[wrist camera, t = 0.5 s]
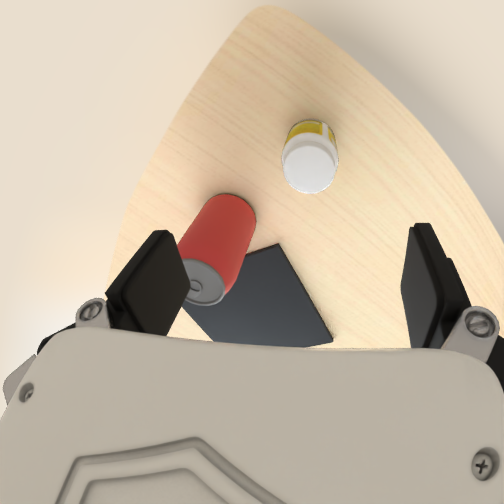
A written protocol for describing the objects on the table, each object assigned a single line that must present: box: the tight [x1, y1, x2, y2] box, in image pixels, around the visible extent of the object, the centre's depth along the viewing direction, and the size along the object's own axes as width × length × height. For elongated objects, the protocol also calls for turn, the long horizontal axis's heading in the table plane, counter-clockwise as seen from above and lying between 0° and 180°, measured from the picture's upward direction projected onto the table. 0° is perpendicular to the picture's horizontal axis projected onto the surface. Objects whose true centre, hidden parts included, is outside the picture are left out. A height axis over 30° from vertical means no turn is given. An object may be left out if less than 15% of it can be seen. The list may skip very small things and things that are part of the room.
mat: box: [182, 244, 333, 348], centre depth 46 cm, size 20×20×1 cm
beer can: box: [177, 194, 256, 306], centre depth 31 cm, size 7×7×12 cm
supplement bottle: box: [282, 119, 339, 194], centre depth 25 cm, size 5×5×8 cm
